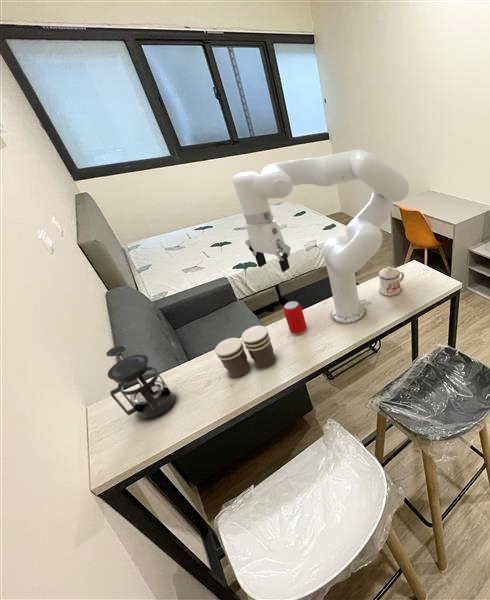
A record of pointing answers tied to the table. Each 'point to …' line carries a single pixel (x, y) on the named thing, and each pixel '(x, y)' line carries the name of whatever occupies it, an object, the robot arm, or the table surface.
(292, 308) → the beverage can
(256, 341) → the cup stacks
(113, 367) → the french press
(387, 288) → the teacup with lid
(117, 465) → the table surface
